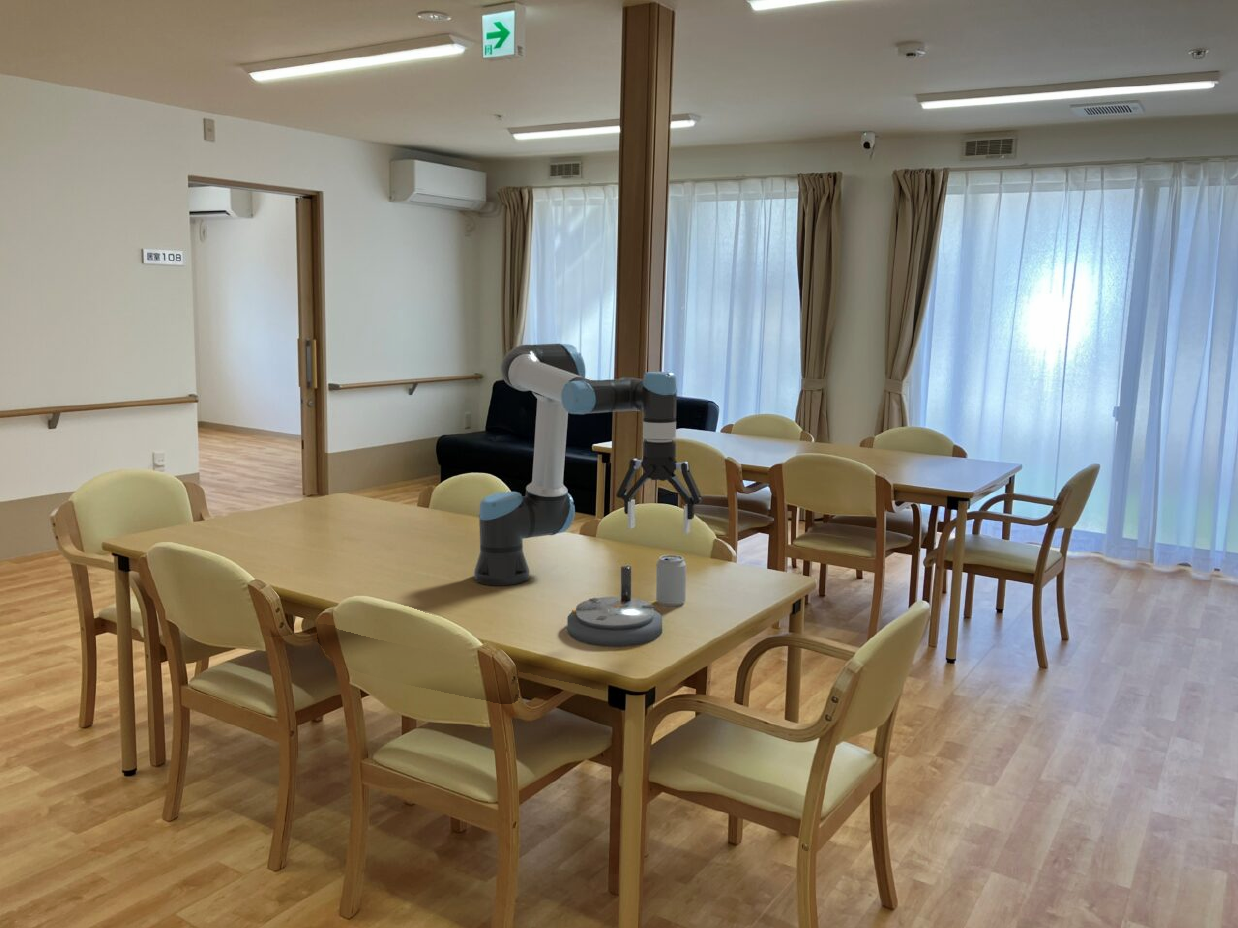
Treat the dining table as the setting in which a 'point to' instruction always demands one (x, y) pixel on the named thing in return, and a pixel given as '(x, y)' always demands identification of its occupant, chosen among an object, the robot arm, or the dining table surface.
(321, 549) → the dining table surface
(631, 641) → the base
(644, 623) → the peg stand
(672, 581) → the can
